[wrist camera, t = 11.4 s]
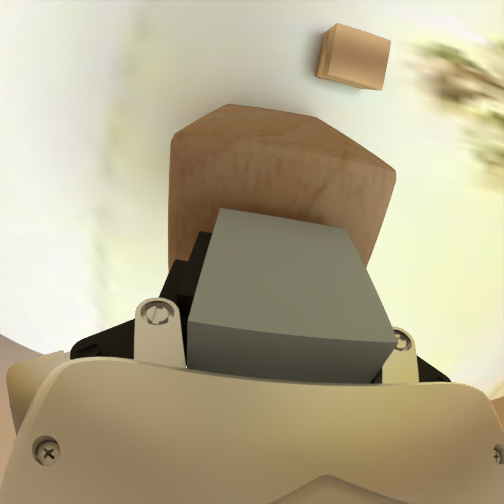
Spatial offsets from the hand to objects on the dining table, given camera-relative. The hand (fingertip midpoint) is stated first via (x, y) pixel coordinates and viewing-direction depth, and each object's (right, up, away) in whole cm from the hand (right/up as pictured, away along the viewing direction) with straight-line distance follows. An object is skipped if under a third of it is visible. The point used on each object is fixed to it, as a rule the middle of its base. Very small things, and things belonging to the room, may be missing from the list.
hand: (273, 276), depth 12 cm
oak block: (+8, +21, +13) cm, 26 cm away
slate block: (0, 0, 0) cm, 0 cm away
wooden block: (+1, +11, +19) cm, 22 cm away
